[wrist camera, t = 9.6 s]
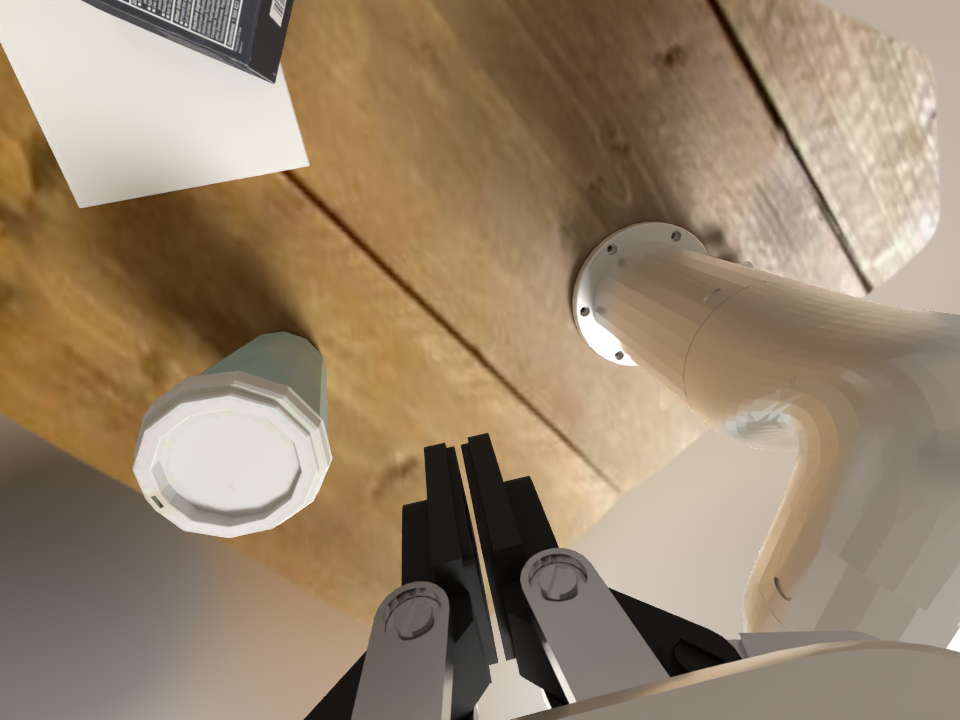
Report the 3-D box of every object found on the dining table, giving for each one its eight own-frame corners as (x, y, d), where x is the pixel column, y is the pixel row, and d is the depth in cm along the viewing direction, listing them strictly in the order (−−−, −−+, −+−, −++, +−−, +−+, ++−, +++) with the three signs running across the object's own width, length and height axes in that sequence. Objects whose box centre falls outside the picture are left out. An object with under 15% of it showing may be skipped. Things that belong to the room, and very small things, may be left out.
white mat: (228, -118, 29) (226, -123, 29) (310, 165, 35) (309, 165, 35) (-51, -78, 28) (-59, -82, 28) (84, 207, 34) (79, 208, 34)
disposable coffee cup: (316, 288, 38) (267, 355, 25) (373, 400, 43) (358, 510, 29) (192, 336, 39) (73, 431, 25) (261, 443, 43) (192, 575, 29)
